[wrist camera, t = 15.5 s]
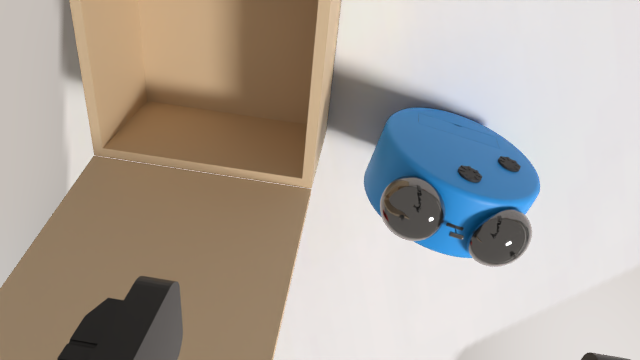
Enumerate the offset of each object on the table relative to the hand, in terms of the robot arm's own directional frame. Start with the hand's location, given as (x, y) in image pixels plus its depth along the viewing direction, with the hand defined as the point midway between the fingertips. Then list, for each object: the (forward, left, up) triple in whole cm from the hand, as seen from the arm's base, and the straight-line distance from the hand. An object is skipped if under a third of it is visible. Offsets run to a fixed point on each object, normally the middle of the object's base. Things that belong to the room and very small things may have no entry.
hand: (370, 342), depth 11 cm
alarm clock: (+15, +7, -38) cm, 42 cm away
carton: (+7, -13, -38) cm, 41 cm away
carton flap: (+17, -13, -16) cm, 27 cm away
